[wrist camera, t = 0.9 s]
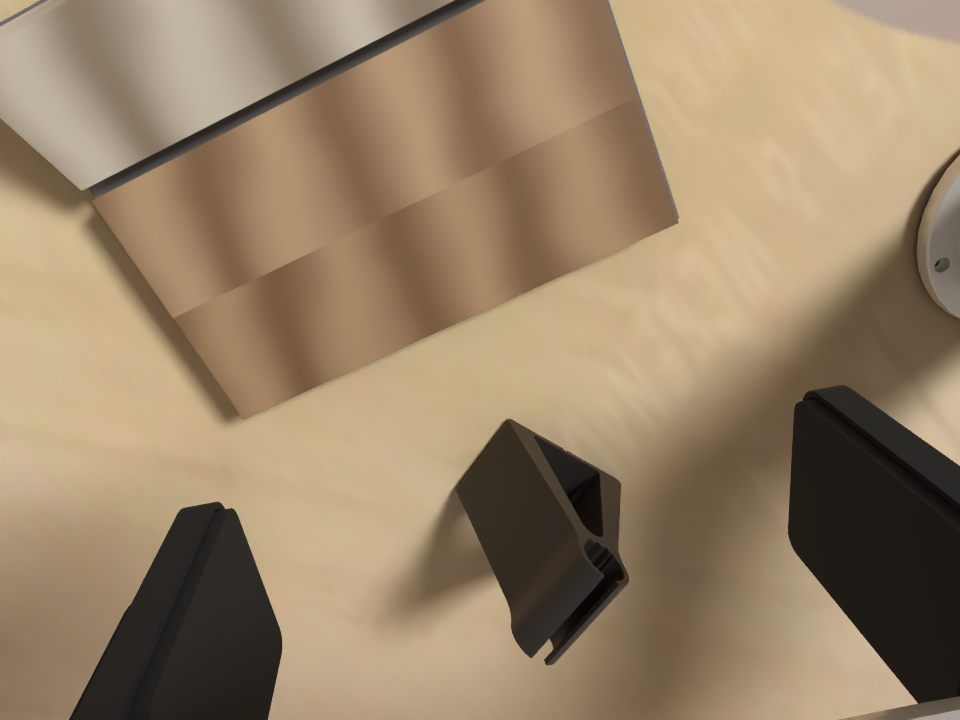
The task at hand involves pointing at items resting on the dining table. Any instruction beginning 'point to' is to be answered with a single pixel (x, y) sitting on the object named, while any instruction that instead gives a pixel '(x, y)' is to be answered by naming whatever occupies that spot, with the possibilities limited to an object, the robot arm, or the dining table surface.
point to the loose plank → (165, 68)
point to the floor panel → (394, 193)
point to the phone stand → (546, 535)
